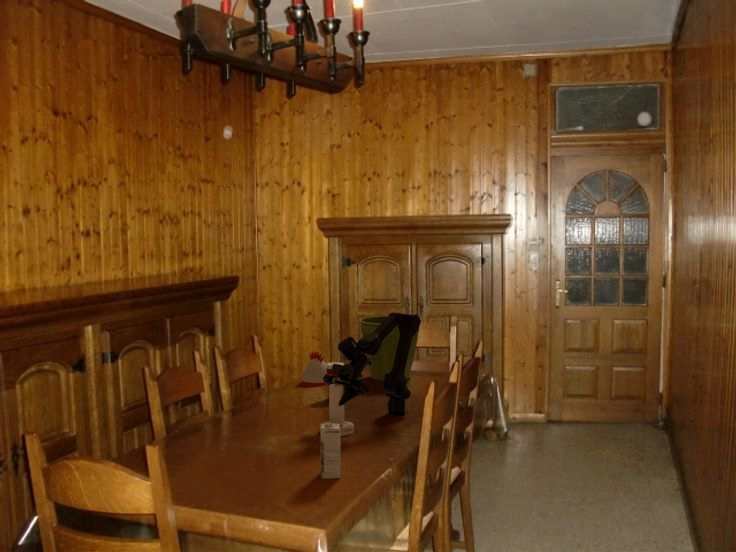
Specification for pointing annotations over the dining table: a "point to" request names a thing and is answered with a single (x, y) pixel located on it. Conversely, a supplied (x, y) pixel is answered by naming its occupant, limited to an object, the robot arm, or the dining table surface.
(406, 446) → the dining table surface
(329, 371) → the coffee cup
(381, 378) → the plant pot
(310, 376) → the white and red hat
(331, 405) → the candle
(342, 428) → the base disc
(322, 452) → the syrup box
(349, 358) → the robot arm
